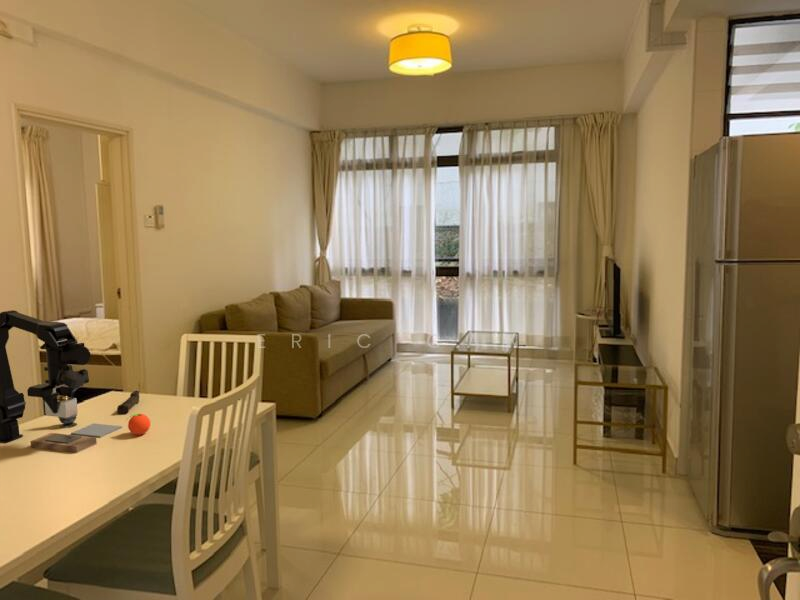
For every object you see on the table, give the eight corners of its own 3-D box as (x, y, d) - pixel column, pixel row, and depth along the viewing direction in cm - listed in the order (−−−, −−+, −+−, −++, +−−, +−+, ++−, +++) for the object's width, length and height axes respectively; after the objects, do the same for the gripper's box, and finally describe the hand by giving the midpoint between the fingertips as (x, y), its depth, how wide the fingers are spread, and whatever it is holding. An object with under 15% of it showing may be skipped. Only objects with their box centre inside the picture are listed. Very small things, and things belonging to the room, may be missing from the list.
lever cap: (45, 415, 187) (44, 396, 187) (57, 411, 192) (55, 392, 191) (66, 417, 185) (64, 398, 185) (77, 413, 190) (76, 394, 189)
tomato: (121, 438, 196) (120, 417, 196) (130, 430, 203) (129, 410, 202) (146, 437, 197) (145, 417, 196) (154, 430, 204) (153, 410, 203)
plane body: (30, 447, 188) (30, 440, 188) (51, 438, 196) (51, 431, 196) (77, 452, 184) (76, 445, 183) (96, 443, 191) (96, 436, 191)
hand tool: (128, 415, 221) (127, 402, 221) (117, 415, 221) (116, 403, 220) (145, 400, 240) (145, 389, 239) (135, 400, 240) (134, 389, 239)
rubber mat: (71, 434, 200) (71, 432, 200) (93, 424, 210) (93, 423, 210) (100, 437, 197) (100, 436, 197) (122, 427, 206) (121, 426, 206)
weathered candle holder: (70, 428, 206) (67, 395, 204) (54, 428, 206) (52, 394, 205) (81, 423, 211) (79, 390, 210) (66, 422, 212) (64, 389, 211)
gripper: (53, 371, 175) (57, 422, 177) (101, 358, 193) (104, 404, 195) (23, 369, 178) (28, 419, 180) (73, 356, 196) (76, 401, 198)
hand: (61, 411), depth 188 cm, fingers closed on lever cap, 4 cm apart
